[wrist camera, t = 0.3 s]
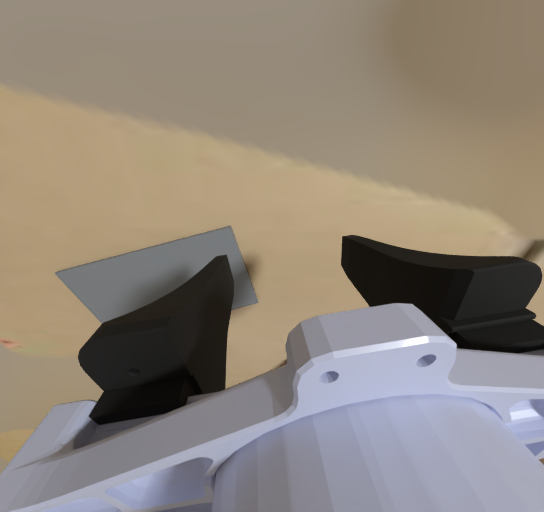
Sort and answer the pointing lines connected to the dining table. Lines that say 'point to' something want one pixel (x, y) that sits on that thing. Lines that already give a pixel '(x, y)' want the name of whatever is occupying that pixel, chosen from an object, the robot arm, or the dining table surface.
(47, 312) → the dining table surface
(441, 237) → the dining table surface
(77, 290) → the rubber mat
